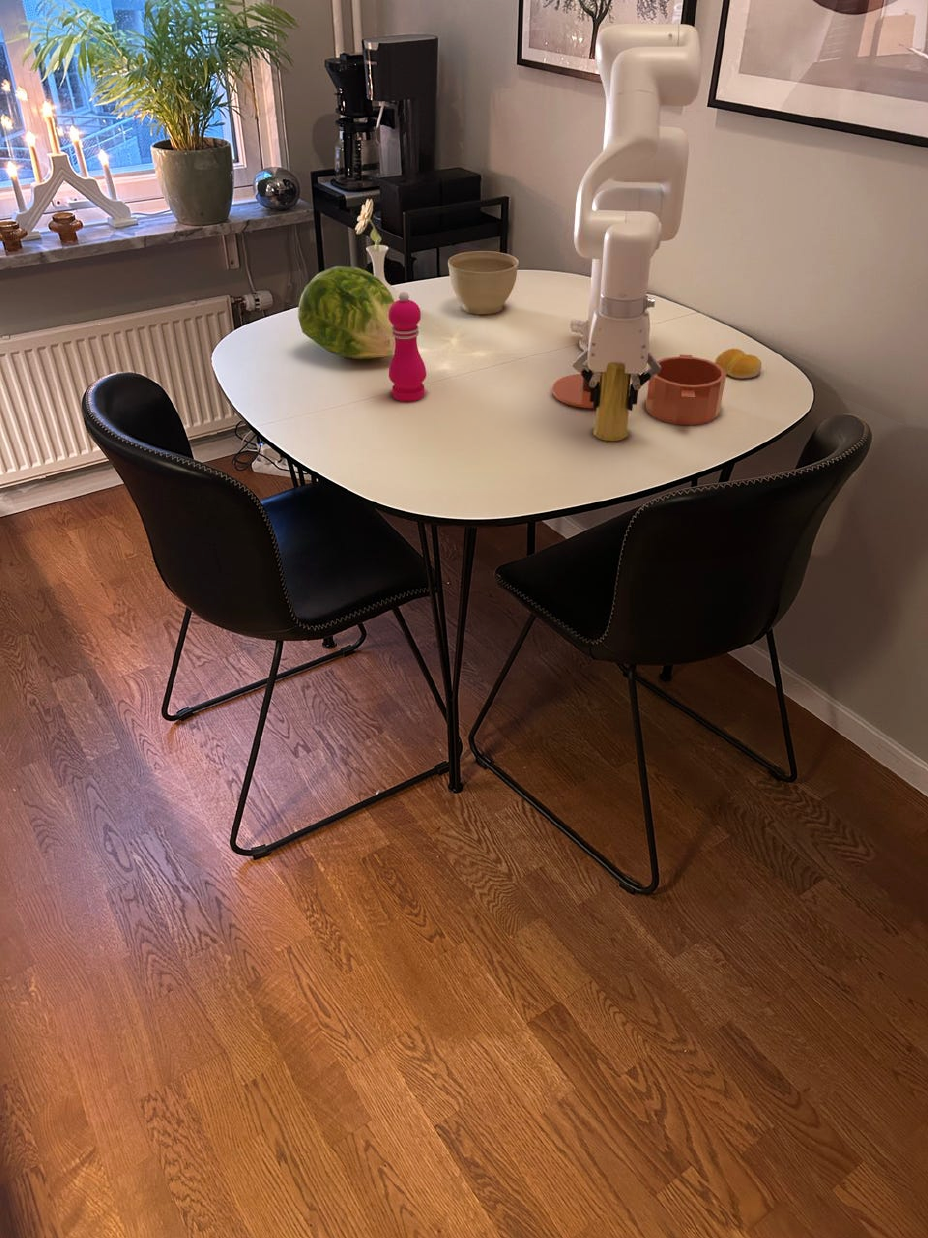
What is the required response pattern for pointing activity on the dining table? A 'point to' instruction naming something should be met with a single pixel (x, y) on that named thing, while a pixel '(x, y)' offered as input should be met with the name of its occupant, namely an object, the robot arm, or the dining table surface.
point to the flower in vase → (375, 247)
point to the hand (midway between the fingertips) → (612, 405)
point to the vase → (613, 404)
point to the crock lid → (573, 390)
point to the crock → (686, 390)
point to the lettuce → (348, 313)
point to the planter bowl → (483, 279)
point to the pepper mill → (406, 351)
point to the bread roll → (739, 364)
